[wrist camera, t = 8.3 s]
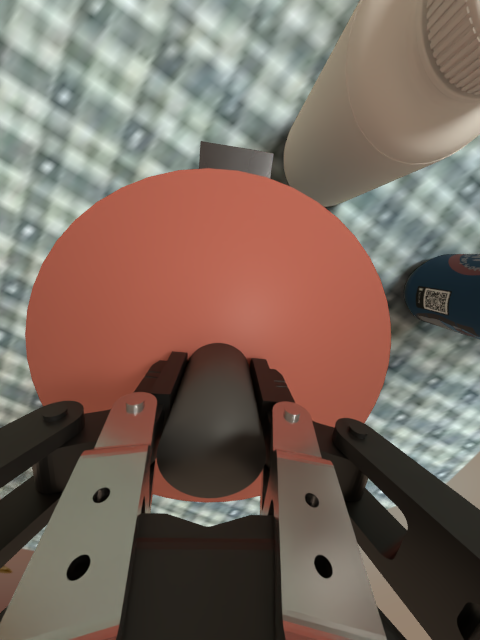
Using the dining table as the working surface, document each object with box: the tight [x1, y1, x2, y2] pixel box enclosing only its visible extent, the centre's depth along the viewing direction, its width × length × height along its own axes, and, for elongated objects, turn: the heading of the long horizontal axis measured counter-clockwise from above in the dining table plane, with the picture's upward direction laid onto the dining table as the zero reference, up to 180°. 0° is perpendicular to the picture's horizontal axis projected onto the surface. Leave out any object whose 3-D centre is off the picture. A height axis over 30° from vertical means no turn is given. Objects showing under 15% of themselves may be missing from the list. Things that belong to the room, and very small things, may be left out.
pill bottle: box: [284, 0, 480, 207], centre depth 13 cm, size 8×8×15 cm
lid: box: [25, 168, 391, 502], centre depth 10 cm, size 18×18×7 cm
